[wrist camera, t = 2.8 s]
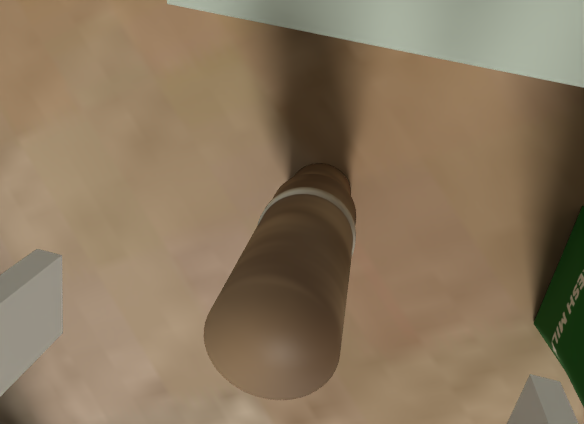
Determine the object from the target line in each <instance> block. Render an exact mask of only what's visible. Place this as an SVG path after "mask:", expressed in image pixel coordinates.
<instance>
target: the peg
mask: <svg viewBox="0 0 584 424" xmlns="http://www.w3.org/2000/svg"><path fill="white" fill-rule="evenodd" d="M355 223H356V209H355V205H354V202H353V199H352V197H351V189H350V185H349V182H348V180H347V178H346V177H345V176H344V174H343V173H342V172H341V171H339V170H338V169H337V168H335V167H333V166H331V165H328V164H322V163H316V164H311V165H308V166H305V167H304V168H302V169H301V170H299V171H298V172H297V173H296V174H295V176H294V177H293V178H291V179H290V180H288V181H287V182H285V183H284V184H283V185H282V186H281V187H280V188H279V189H278V190H277V192H276V194H275V196H274V197H273V199H272V200H271V201H270V202H269V204H268V205H267V206H266V208H265V210H264V211H263V213H262V215H261V217H260V219H259V222H258V226H257V228H256V230H255V231H254V233H253V235H252V237H251V239H250V240H249V242H248V244H247V246H246V247H245V249H244V251H243V253H242V255H241V256H240V258H239V260H238V262H237V264H236V265H235V267H234V269H233V271H232V273H231V274H230V276H229V278H228V280H227V282H226V283H225V285H224V287H223V289H222V290H221V292H220V294H219V296H218V298H217V299H216V301H215V303H214V305H213V307H212V308H211V310H210V312H209V314H208V316H207V319H206V322H205V327H204V342H205V347H206V351H207V353H208V356H209V358H210V360H211V361H212V363H213V365H214V366H215V368H216V369H217V370H218V372H219V373H220V374H221V375H222V376H223V377H224V378H225V379H226V380H228V381H229V382H230V383H231V384H233V385H234V386H236V387H237V388H239V389H241V390H243V391H244V392H247V393H249V394H251V395H254V396H257V397H261V398H266V399H273V400H289V399H296V398H300V397H303V396H306V395H309V394H311V393H313V392H315V391H317V390H318V389H319V388H321V387H322V386H323V385H324V384H325V383H327V382H328V380H329V379H330V378H331V377H332V375H333V373H334V372H335V370H336V368H337V365H338V362H339V357H340V350H341V341H342V333H343V324H344V316H345V307H346V299H347V290H348V282H349V274H350V265H351V257H352V254H353V251H354V247H355V239H356V230H355Z"/></svg>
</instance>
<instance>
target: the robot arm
mask: <svg viewBox="0 0 584 424" xmlns="http://www.w3.org/2000/svg"><path fill="white" fill-rule="evenodd" d="M62 333H63V314H62V255H59V254H55V253H52V252H48V251H44V250H40V249H36V250H35V251H33V252H32V253H30V254H29V255H28V256H26V257H25V258H23V259H22V260H21V261H19V262H18V263H16V264H15V265H13V266H12V267H11V268H9V269H8V270H6V271H5V272H4V273H2V274H1V275H0V397H1V396H2V395H3V394H4V392H5V391H6V390H7V389H8V388H9V387H10V386H11V385H12V384H13V383H14V382H15V381H16V380H17V379H18V378H19V377H20V376H21V375H22V374H23V373H24V372H25V371H26V370H27V369H28V368H29V367H30V366H31V365H32V364H33V363H34V362H35V361H36V360H37V359H38V358H39V357H40V356H41V355H42V354H43V353H44V352H45V351H46V350H47V349H48V348H49V347H50V346H51V345H52V344H53V343H54V342H55V340H56V339H57V338H58V337H59V336H60V335H61V334H62ZM507 424H579V423H578V421H577V419H576V417H575V414H574V412H573V410H572V408H571V405H570V403H569V401H568V399H567V396H566V394H565V392H564V390H563V387H562V385H561V383H560V382H559V381H555V380H551V379H547V378H543V377H540V376H536V375H532V374H530V375H529V378H528V380H527V382H526V384H525V386H524V388H523V390H522V392H521V395H520V397H519V399H518V401H517V403H516V405H515V407H514V409H513V412H512V414H511V416H510V418H509V420H508V422H507Z"/></svg>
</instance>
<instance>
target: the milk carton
mask: <svg viewBox="0 0 584 424" xmlns="http://www.w3.org/2000/svg"><path fill="white" fill-rule="evenodd" d="M534 325H535V326H536V328H537V329H538V331H539V332H540V334H541V335H542V337H543V338H544V340H545V341H546V343H547V344H548V346H549V347H550V349H551V350H552V352H553V353H554V355H555V356H556V358H557V359H558V361H559V362H560V364H561V365H562V367H563V368H564V370H565V371H566V373H567V375H568V377H569V379H570V381H571V383H572V385H573V387H574V389H575V391H576V393H577V395H578V397H579V399H580V401H581V403H582V405H583V407H584V206H582V208H581V211H580V213H579V215H578V218H577V220H576V223H575V225H574V227H573V230H572V232H571V235H570V237H569V239H568V242H567V244H566V247H565V249H564V251H563V254H562V256H561V259H560V261H559V263H558V266H557V268H556V271H555V273H554V275H553V278H552V280H551V283H550V285H549V287H548V290H547V292H546V295H545V297H544V299H543V302H542V304H541V307H540V309H539V311H538V314H537V316H536V319H535V321H534Z"/></svg>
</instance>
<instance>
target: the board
mask: <svg viewBox="0 0 584 424" xmlns="http://www.w3.org/2000/svg"><path fill="white" fill-rule="evenodd" d="M167 4H171V5H176V6H181V7H186V8H191V9H196V10H201V11H206V12H211V13H216V14H221V15H226V16H231V17H236V18H241V19H246V20H251V21H256V22H261V23H265V24H270V25H275V26H280V27H285V28H290V29H295V30H300V31H305V32H310V33H315V34H320V35H325V36H330V37H335V38H340V39H345V40H350V41H355V42H360V43H365V44H370V45H375V46H380V47H385V48H390V49H395V50H400V51H404V52H409V53H414V54H419V55H424V56H429V57H434V58H439V59H444V60H449V61H454V62H459V63H464V64H469V65H474V66H479V67H484V68H489V69H494V70H499V71H504V72H509V73H514V74H519V75H524V76H529V77H534V78H539V79H543V80H548V81H553V82H558V83H563V84H568V85H573V86H578V87H583V88H584V0H167Z"/></svg>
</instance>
